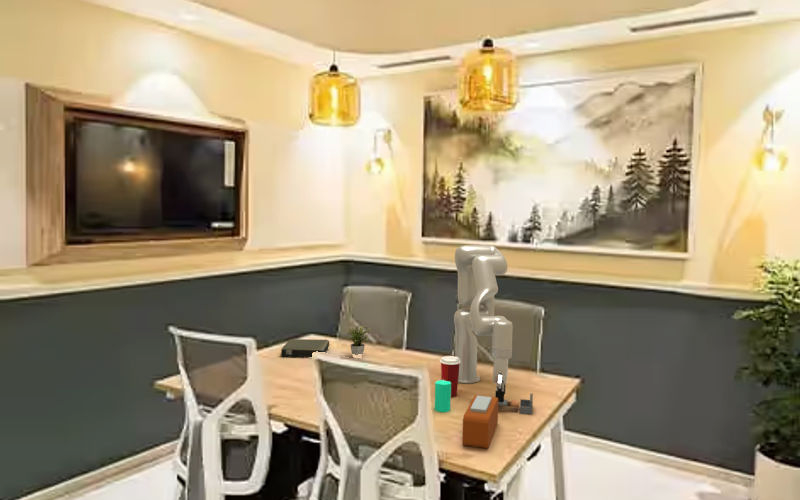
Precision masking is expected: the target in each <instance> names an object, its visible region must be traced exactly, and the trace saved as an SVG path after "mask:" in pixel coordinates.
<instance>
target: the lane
mask: <svg viewBox="0 0 800 500" xmlns="http://www.w3.org/2000/svg"><path fill="white" fill-rule="evenodd" d="M511 401H512V400H507V406H498V412H510V413H519V407H511V406H510V403H511Z"/></svg>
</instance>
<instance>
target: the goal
mask: <svg viewBox="0 0 800 500" xmlns="http://www.w3.org/2000/svg"><path fill="white" fill-rule="evenodd" d="M533 399H534V394H533V393H529V399H523V398H522V399H521V398H520V400H519V401H520V402H519V414H523V415H533Z"/></svg>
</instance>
